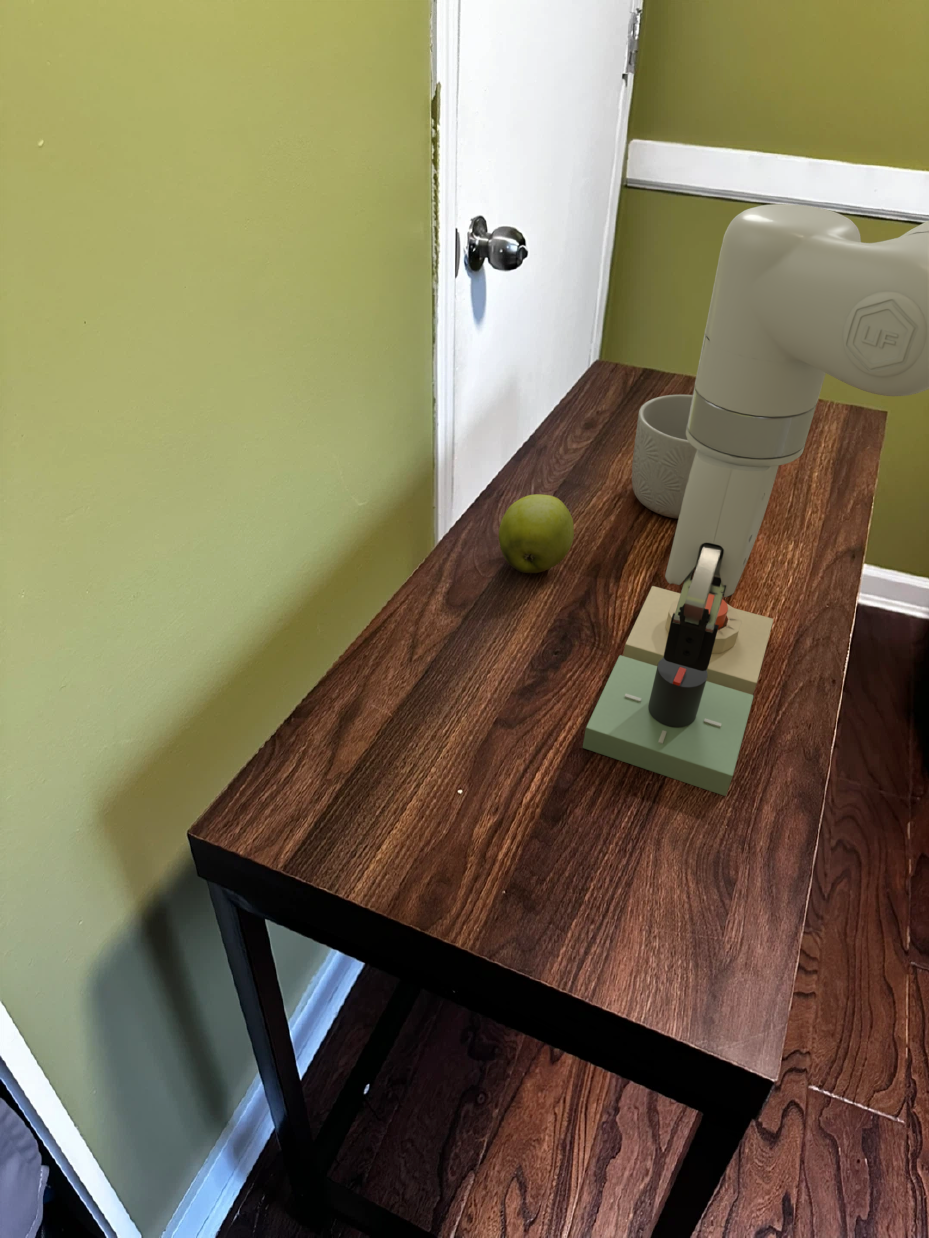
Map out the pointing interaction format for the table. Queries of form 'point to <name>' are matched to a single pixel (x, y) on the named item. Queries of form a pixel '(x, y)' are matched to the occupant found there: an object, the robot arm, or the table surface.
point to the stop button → (722, 610)
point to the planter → (662, 454)
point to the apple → (536, 533)
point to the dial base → (669, 729)
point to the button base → (733, 646)
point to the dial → (676, 694)
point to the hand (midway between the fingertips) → (699, 625)
